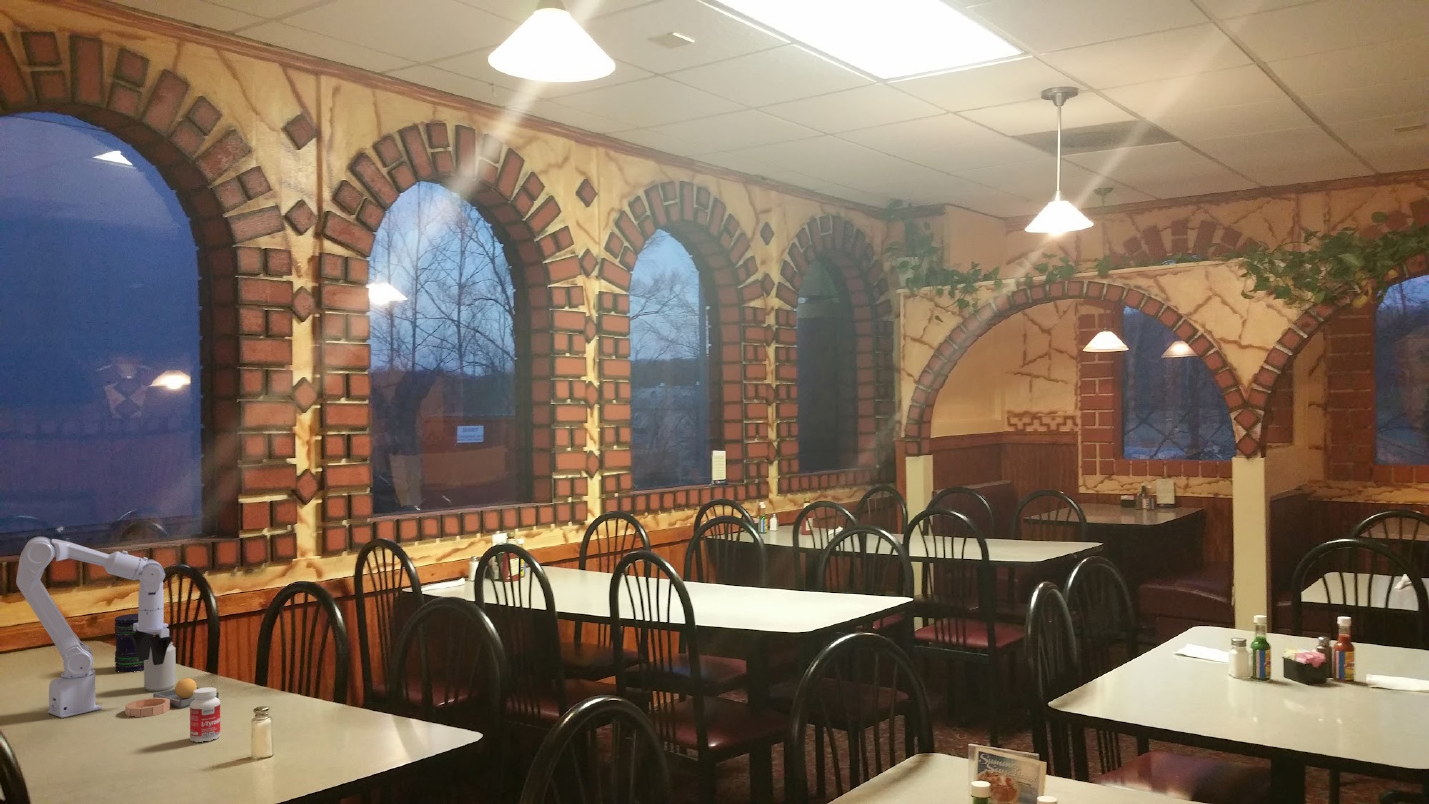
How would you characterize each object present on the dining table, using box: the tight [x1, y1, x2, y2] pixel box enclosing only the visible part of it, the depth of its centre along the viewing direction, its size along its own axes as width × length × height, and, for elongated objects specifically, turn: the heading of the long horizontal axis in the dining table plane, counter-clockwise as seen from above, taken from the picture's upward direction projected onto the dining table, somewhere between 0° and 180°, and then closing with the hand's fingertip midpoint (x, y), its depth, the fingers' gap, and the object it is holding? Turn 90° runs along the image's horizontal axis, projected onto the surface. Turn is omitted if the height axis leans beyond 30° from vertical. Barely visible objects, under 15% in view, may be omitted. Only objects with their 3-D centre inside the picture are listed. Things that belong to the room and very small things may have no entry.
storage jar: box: [114, 612, 144, 673], centre depth 306 cm, size 10×10×15 cm
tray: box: [152, 686, 220, 710], centre depth 273 cm, size 10×13×2 cm
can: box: [143, 641, 177, 692], centre depth 285 cm, size 8×8×12 cm
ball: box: [174, 677, 198, 699], centre depth 273 cm, size 5×5×5 cm
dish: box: [124, 697, 171, 718], centre depth 263 cm, size 10×10×2 cm
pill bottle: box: [189, 686, 221, 743], centre depth 241 cm, size 6×6×11 cm
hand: (151, 662), depth 273 cm, fingers open, 7 cm apart
